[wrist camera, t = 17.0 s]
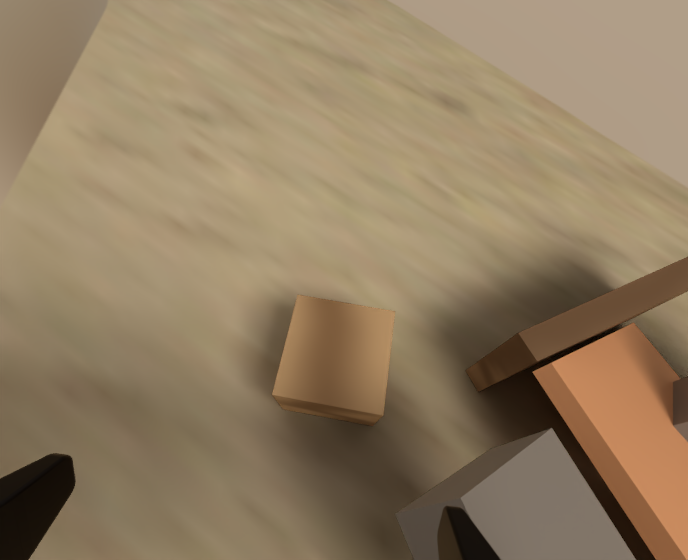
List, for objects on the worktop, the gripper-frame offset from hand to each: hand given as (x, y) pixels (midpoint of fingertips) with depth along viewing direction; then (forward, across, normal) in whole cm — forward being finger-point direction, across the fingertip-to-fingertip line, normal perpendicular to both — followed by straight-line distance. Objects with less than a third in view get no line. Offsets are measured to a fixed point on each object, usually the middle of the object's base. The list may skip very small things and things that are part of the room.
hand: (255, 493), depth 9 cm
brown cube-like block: (+14, -1, +5) cm, 15 cm away
